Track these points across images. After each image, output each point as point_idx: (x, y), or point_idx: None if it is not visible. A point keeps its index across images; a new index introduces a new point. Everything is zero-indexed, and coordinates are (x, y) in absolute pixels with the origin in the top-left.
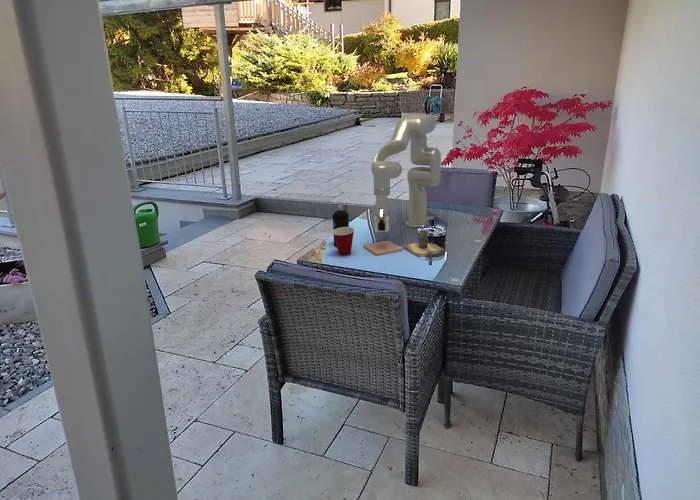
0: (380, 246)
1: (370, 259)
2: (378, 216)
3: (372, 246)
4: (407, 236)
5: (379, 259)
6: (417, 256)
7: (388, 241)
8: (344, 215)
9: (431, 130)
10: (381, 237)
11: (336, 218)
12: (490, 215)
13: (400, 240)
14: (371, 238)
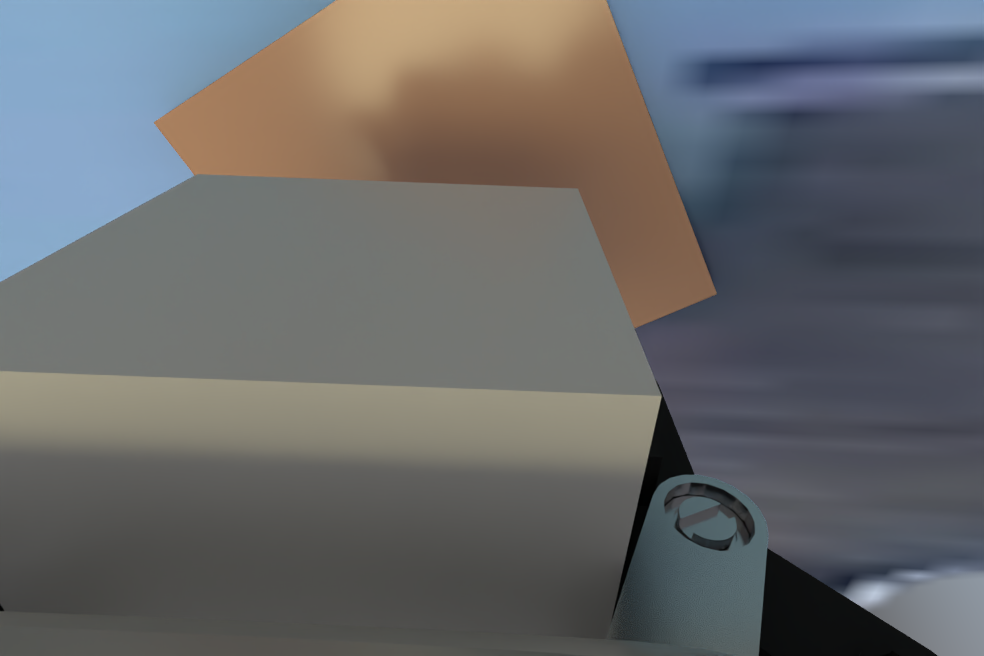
0: (474, 184)
1: (13, 29)
2: (476, 527)
3: (473, 55)
4: (866, 481)
5: (60, 162)
6: None
7: (675, 294)
8: None
9: None
10: (959, 192)
11: None
12: None
13: (748, 413)
14: (980, 22)
